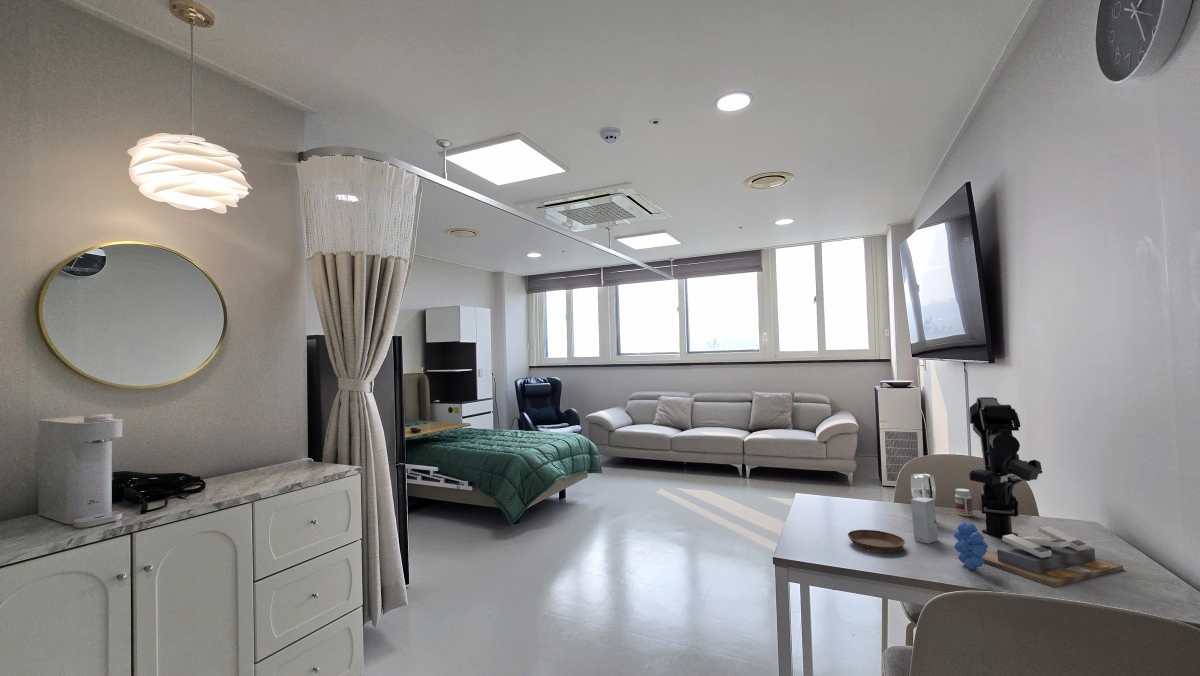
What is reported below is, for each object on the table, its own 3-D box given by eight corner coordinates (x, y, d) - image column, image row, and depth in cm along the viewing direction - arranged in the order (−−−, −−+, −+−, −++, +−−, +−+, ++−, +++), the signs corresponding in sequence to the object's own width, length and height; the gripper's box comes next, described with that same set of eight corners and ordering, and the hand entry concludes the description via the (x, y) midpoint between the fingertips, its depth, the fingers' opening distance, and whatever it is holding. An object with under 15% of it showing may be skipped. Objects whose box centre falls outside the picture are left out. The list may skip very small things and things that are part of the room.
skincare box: (929, 544, 145) (926, 502, 146) (912, 540, 149) (909, 499, 150) (938, 539, 149) (935, 498, 150) (922, 535, 153) (919, 495, 153)
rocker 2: (1047, 529, 136) (1048, 525, 136) (1087, 549, 128) (1088, 544, 127) (1038, 531, 135) (1039, 526, 135) (1078, 551, 127) (1079, 546, 126)
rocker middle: (1031, 540, 134) (1029, 535, 134) (1070, 545, 125) (1068, 539, 126) (1021, 542, 132) (1020, 537, 133) (1060, 547, 124) (1059, 541, 124)
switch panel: (1040, 545, 141) (1039, 528, 141) (1123, 569, 124) (1121, 549, 124) (975, 559, 133) (973, 541, 134) (1053, 587, 116) (1051, 566, 116)
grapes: (1004, 579, 121) (1000, 529, 122) (974, 578, 122) (970, 528, 123) (976, 560, 133) (972, 515, 133) (949, 560, 134) (945, 514, 134)
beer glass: (908, 518, 169) (905, 474, 170) (927, 517, 170) (924, 473, 171) (923, 524, 163) (919, 478, 163) (943, 523, 163) (939, 477, 164)
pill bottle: (970, 512, 173) (968, 488, 174) (975, 516, 169) (973, 491, 169) (954, 512, 175) (952, 487, 175) (958, 515, 170) (956, 491, 171)
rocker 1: (1011, 538, 132) (1012, 533, 132) (1051, 555, 123) (1051, 550, 123) (1002, 540, 131) (1002, 535, 131) (1041, 557, 122) (1041, 552, 122)
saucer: (902, 541, 149) (901, 532, 150) (909, 559, 136) (908, 549, 136) (847, 535, 156) (846, 527, 156) (849, 552, 142) (848, 542, 142)
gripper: (1008, 457, 130) (1013, 517, 129) (1055, 449, 136) (1060, 507, 135) (965, 450, 141) (970, 506, 140) (1010, 443, 147) (1015, 497, 146)
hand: (1004, 504), depth 140 cm, fingers closed
